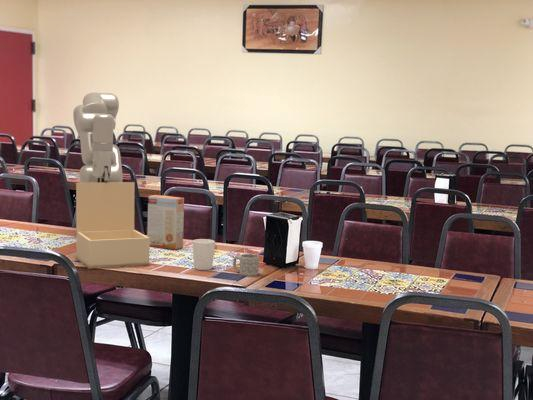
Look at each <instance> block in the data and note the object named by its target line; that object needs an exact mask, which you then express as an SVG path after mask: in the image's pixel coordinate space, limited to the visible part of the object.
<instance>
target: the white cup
mask: <svg viewBox="0 0 533 400" xmlns="http://www.w3.org/2000/svg"><path fill="white" fill-rule="evenodd" d="M215 244H216V241H215V240H213V239H210V238H207V239H206V238H199V239H196V238H195V239H194V240H192V256H193V257H192V259H193V268H194V269H195V270H199V271H208V270H209V271H210V270H212V269H213V265H214V259H215V258H214V256H215Z"/></svg>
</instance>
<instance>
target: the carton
mask: <svg viewBox="0 0 533 400" xmlns="http://www.w3.org/2000/svg"><path fill="white" fill-rule="evenodd" d="M150 247H151V246H150V238H149V237H147V235H145V234H143V233H142V232H140V231H138V230H136V229H129V230H104V231H85V232H81V231H79V232H76V250H75V251H76V252H75V253H76V255H75V257H76V260H78V262H80V263H81V264H82V263H83V264H82V265H83V266H84V267H86V268H87V269H88V270H91V269H94V268H95V269H99V268H98V267H111V268H118V267H117V266H127V267H139V266H140V267H141V266H150ZM115 266H116V267H115ZM95 269H94V270H95Z"/></svg>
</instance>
